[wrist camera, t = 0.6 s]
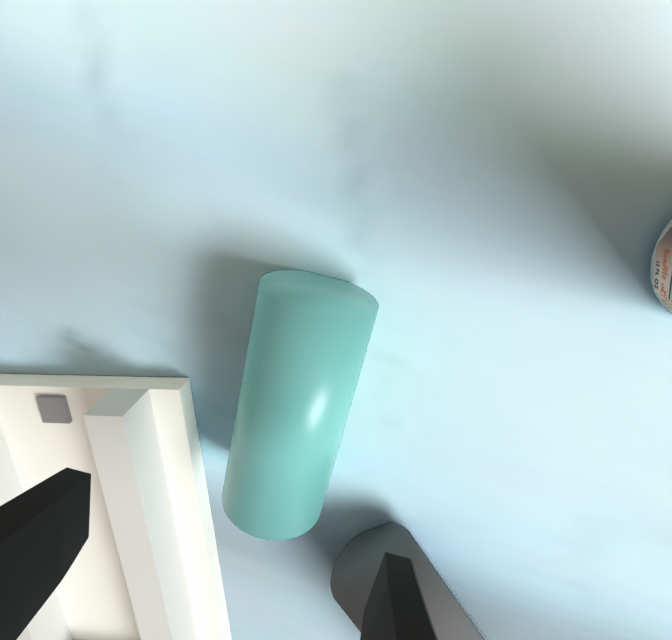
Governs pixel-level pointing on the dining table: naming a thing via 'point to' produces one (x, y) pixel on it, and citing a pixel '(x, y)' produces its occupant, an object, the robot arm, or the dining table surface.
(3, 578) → the robot arm
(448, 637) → the grey rounded cylinder
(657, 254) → the beer can
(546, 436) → the dining table surface
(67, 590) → the comb rack
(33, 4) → the dining table surface
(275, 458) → the teal rounded tube
